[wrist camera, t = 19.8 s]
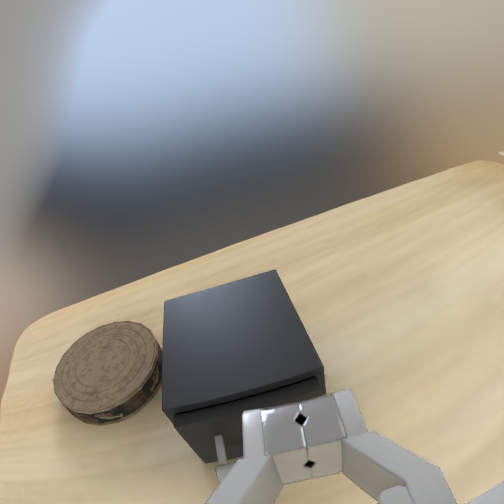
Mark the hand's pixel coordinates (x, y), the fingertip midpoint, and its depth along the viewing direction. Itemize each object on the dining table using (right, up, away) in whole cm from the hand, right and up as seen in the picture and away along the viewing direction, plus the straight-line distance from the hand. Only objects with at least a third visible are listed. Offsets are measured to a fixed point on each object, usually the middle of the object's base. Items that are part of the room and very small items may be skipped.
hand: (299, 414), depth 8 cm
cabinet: (-2, -10, +25) cm, 27 cm away
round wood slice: (-20, -12, +30) cm, 37 cm away
